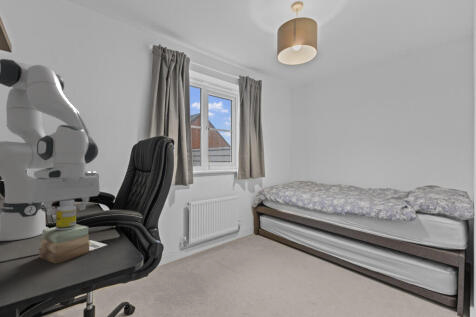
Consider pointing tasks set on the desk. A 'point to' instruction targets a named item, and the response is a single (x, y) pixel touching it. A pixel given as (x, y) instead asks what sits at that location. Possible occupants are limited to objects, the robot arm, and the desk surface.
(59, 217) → the supplement bottle
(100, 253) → the desk surface
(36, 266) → the desk surface
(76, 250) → the brick tower
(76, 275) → the desk surface
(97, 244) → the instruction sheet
